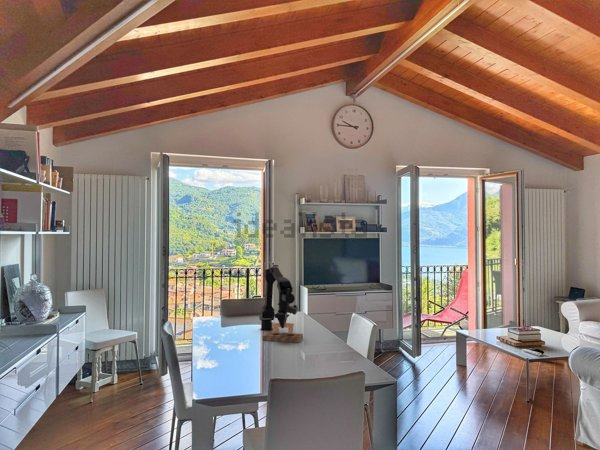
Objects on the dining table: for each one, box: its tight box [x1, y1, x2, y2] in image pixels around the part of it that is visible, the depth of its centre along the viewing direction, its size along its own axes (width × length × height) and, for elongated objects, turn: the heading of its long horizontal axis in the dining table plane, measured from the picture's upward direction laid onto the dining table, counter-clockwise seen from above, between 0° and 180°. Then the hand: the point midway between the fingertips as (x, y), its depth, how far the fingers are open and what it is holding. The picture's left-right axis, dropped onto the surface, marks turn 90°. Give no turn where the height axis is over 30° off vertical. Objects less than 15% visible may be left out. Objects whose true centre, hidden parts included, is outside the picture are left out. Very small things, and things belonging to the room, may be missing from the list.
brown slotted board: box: [262, 331, 304, 344], centre depth 239 cm, size 22×10×3 cm, turn 79°
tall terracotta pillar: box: [272, 322, 295, 333], centre depth 239 cm, size 12×3×5 cm, turn 79°
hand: (283, 327), depth 239 cm, fingers closed on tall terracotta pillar, 3 cm apart
